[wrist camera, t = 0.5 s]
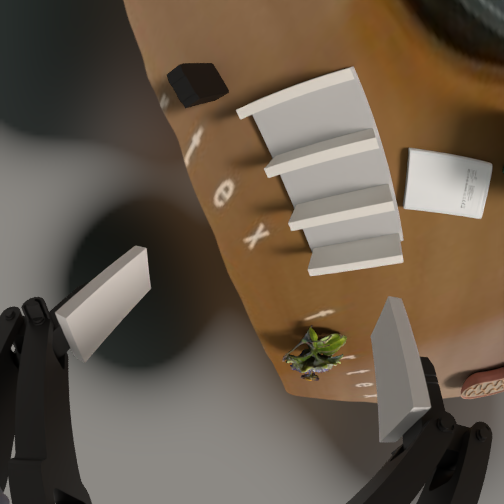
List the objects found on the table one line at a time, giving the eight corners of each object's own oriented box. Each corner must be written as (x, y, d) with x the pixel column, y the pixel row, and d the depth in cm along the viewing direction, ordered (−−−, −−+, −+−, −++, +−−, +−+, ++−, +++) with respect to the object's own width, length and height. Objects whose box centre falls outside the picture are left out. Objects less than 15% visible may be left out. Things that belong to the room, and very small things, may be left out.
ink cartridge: (199, 71, 31) (163, 74, 25) (212, 62, 29) (178, 63, 23) (216, 100, 33) (183, 109, 27) (230, 92, 31) (198, 99, 25)
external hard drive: (407, 146, 28) (488, 161, 24) (402, 204, 33) (477, 214, 29) (409, 149, 27) (493, 165, 23) (403, 209, 32) (481, 220, 27)
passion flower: (322, 328, 61) (288, 367, 58) (304, 303, 55) (265, 348, 52) (359, 350, 52) (322, 395, 49) (346, 327, 46) (303, 379, 43)
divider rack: (353, 66, 24) (353, 65, 20) (402, 237, 35) (407, 262, 31) (249, 103, 32) (231, 110, 27) (314, 252, 42) (307, 277, 38)
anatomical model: (534, 349, 35) (538, 365, 31) (524, 369, 39) (527, 384, 35) (462, 369, 47) (464, 387, 43) (457, 386, 51) (458, 402, 47)
